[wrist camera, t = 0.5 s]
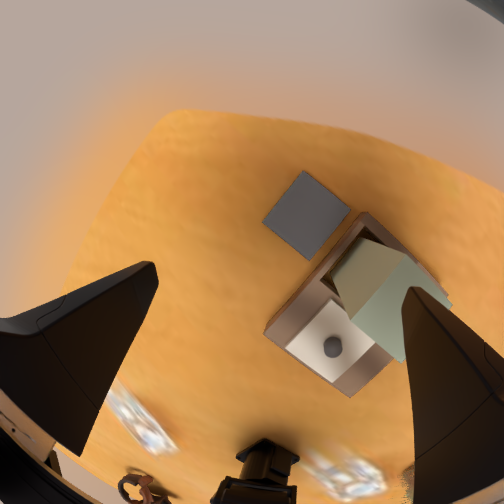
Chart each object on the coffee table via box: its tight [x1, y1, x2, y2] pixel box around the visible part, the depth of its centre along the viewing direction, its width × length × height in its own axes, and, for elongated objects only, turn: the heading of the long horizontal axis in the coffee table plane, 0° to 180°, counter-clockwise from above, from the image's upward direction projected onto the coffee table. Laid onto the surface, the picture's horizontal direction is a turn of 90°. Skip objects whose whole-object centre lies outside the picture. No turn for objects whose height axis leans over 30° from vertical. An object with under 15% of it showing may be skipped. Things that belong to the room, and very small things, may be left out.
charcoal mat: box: [262, 171, 351, 261], centre depth 24 cm, size 6×6×1 cm
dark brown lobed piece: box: [118, 474, 172, 504], centre depth 33 cm, size 12×10×8 cm
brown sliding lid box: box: [263, 212, 448, 398], centre depth 22 cm, size 14×12×4 cm
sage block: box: [330, 237, 452, 363], centre depth 18 cm, size 4×4×12 cm
